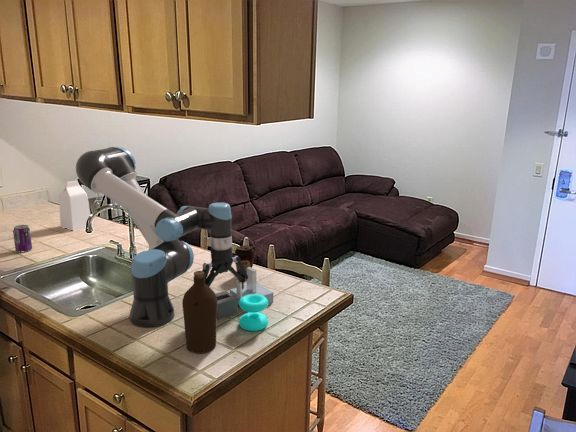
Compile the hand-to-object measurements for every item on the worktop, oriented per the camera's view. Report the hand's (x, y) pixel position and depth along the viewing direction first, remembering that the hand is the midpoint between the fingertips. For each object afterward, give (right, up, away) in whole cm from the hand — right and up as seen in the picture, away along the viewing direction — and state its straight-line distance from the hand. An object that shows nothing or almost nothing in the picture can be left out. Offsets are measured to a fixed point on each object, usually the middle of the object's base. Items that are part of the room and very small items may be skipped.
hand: (223, 302), depth 174 cm
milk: (-95, +25, +97) cm, 138 cm away
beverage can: (-104, +15, +59) cm, 120 cm away
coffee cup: (+5, +5, +34) cm, 35 cm away
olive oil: (-4, -10, -21) cm, 24 cm away
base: (+9, -1, +11) cm, 14 cm away
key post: (+9, +3, +10) cm, 14 cm away
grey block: (-1, -4, +1) cm, 4 cm away
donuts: (+11, -7, -7) cm, 15 cm away
